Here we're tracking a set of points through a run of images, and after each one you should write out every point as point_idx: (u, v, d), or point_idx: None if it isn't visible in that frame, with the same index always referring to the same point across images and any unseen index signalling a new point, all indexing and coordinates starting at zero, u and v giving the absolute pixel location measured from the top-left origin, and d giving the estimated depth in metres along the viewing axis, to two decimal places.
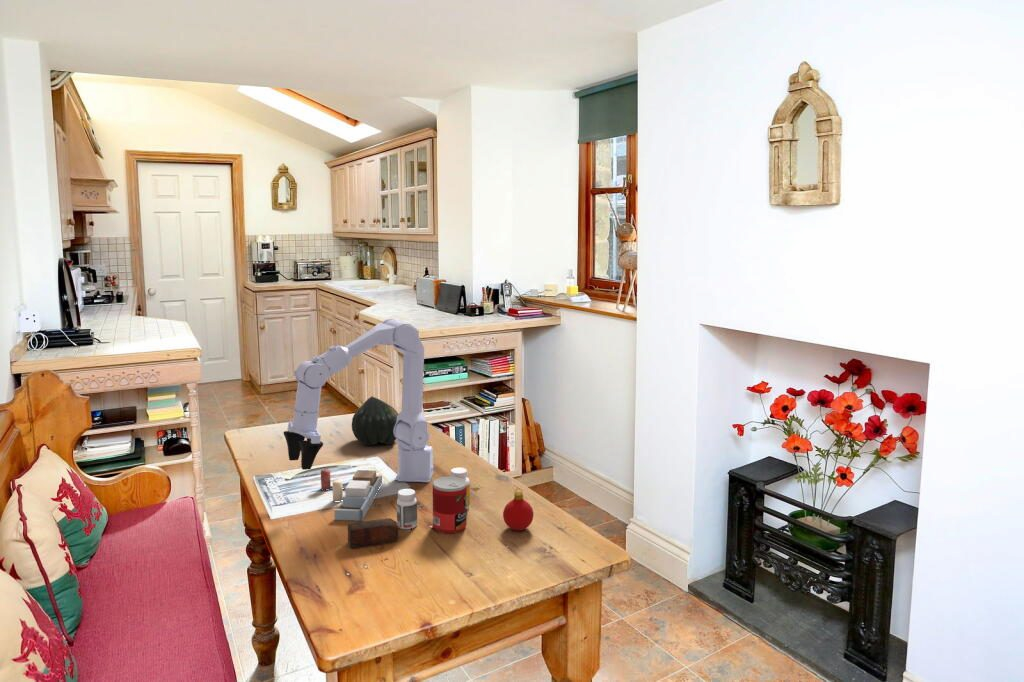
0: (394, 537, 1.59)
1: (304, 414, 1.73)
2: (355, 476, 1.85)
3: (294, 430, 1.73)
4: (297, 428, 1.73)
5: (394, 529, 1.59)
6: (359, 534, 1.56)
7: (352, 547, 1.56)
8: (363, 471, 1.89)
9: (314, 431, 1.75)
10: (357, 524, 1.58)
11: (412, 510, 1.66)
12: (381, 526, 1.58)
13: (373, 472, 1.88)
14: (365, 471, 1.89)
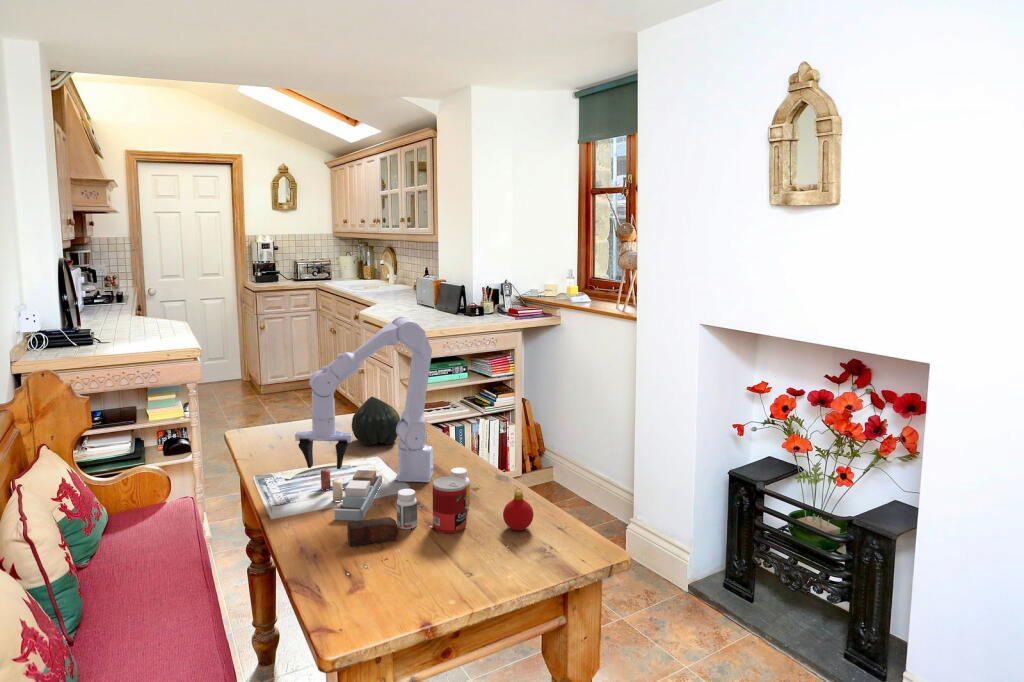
0: (393, 536, 1.60)
1: (330, 420, 1.83)
2: (355, 476, 1.85)
3: (325, 438, 1.83)
4: (326, 435, 1.83)
5: (393, 528, 1.60)
6: (358, 532, 1.57)
7: (351, 545, 1.57)
8: (363, 471, 1.89)
9: (335, 432, 1.87)
10: (357, 523, 1.59)
11: (412, 510, 1.66)
12: (380, 525, 1.58)
13: (373, 472, 1.88)
14: (365, 471, 1.89)
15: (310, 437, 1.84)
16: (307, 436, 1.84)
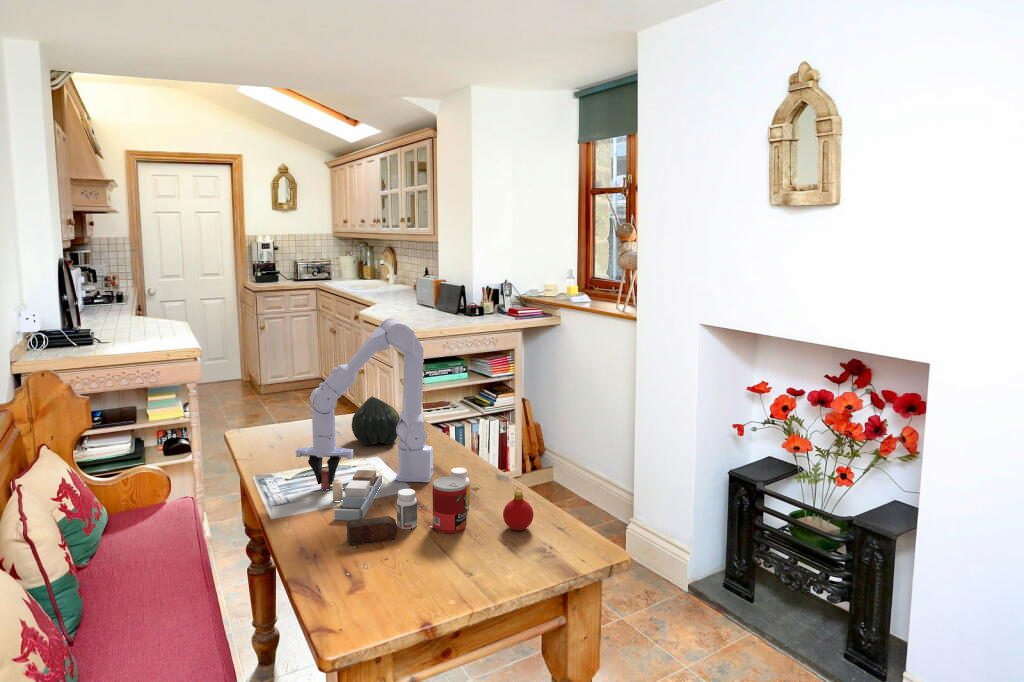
0: (393, 534, 1.61)
1: (331, 436, 1.84)
2: (355, 476, 1.85)
3: (325, 454, 1.83)
4: (327, 452, 1.84)
5: (392, 527, 1.60)
6: (358, 531, 1.57)
7: (351, 544, 1.58)
8: (363, 471, 1.89)
9: (336, 448, 1.88)
10: (356, 521, 1.59)
11: (412, 510, 1.66)
12: (380, 523, 1.59)
13: (373, 472, 1.88)
14: (365, 471, 1.89)
15: (311, 453, 1.84)
16: (308, 452, 1.85)
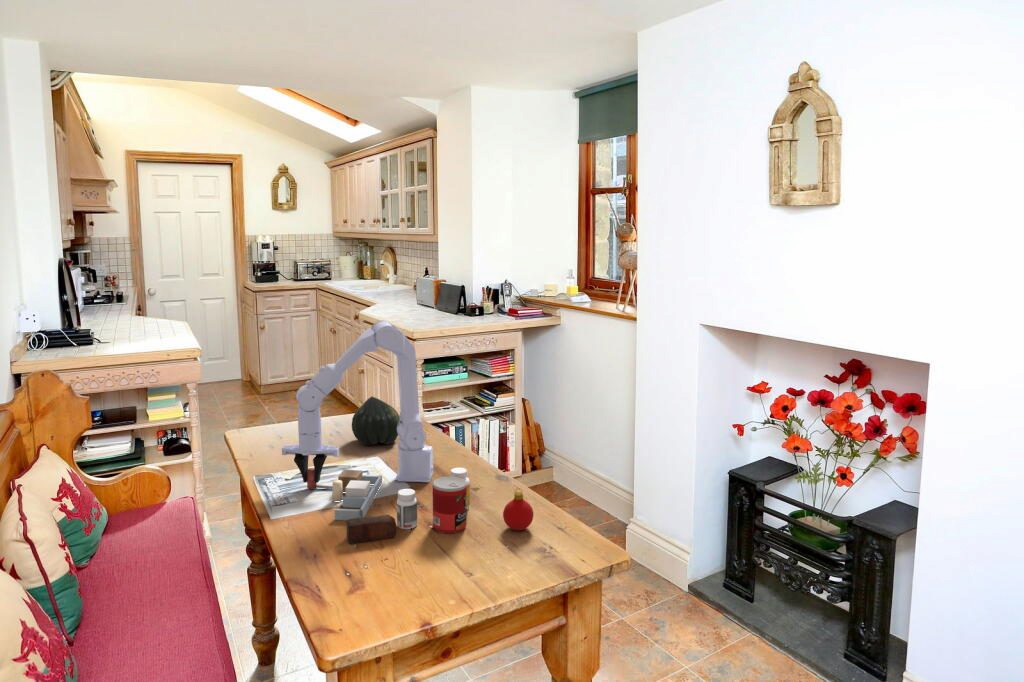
0: (392, 533, 1.61)
1: (317, 434, 1.84)
2: (341, 475, 1.85)
3: (311, 452, 1.83)
4: (312, 450, 1.84)
5: (392, 526, 1.61)
6: (357, 529, 1.58)
7: (350, 543, 1.58)
8: (349, 471, 1.89)
9: None
10: (356, 520, 1.60)
11: (412, 510, 1.66)
12: (379, 522, 1.60)
13: (359, 472, 1.88)
14: (351, 471, 1.89)
15: (296, 451, 1.84)
16: (293, 450, 1.85)
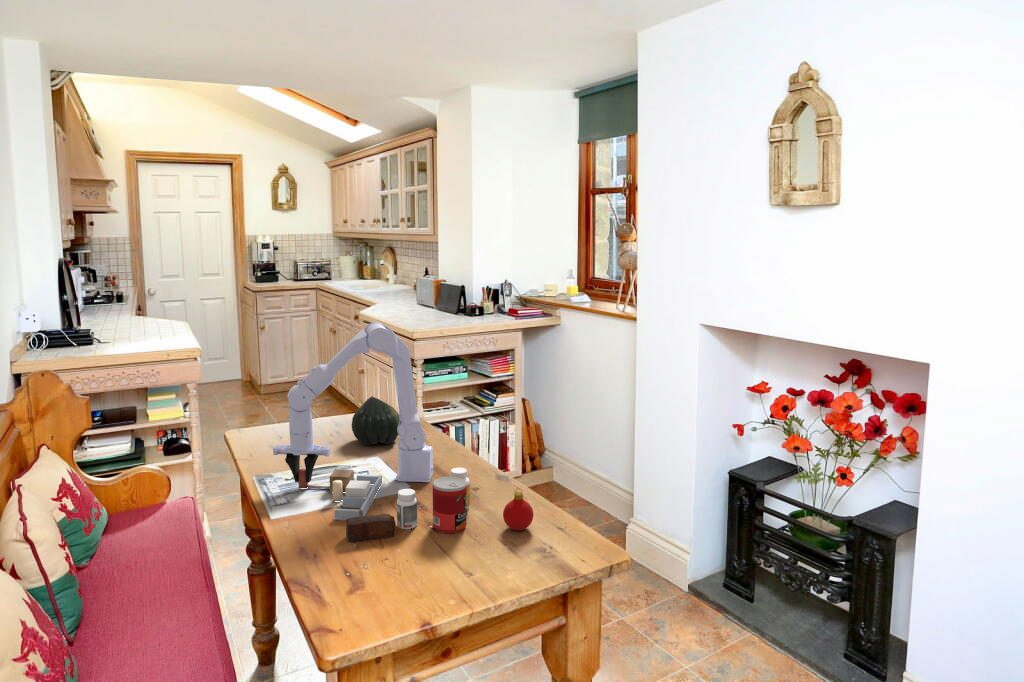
0: (391, 532, 1.62)
1: (308, 434, 1.84)
2: (332, 475, 1.86)
3: (302, 452, 1.84)
4: (303, 450, 1.84)
5: (391, 525, 1.61)
6: (356, 528, 1.59)
7: (350, 541, 1.59)
8: (340, 470, 1.89)
9: (313, 446, 1.88)
10: (355, 519, 1.61)
11: (412, 510, 1.66)
12: (378, 521, 1.60)
13: (350, 471, 1.88)
14: (342, 470, 1.89)
15: (288, 451, 1.84)
16: (285, 450, 1.85)
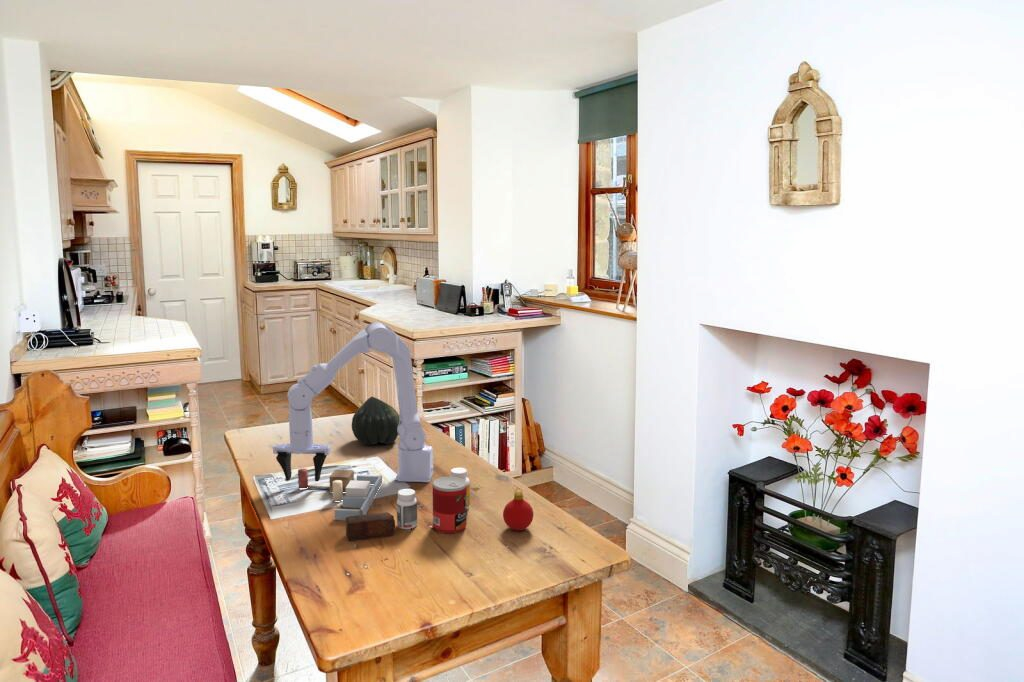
0: (391, 531, 1.62)
1: (308, 433, 1.84)
2: (332, 475, 1.86)
3: (302, 451, 1.84)
4: (303, 448, 1.84)
5: (390, 523, 1.62)
6: (356, 527, 1.59)
7: (349, 540, 1.60)
8: (340, 471, 1.89)
9: (313, 445, 1.88)
10: (355, 517, 1.61)
11: (412, 510, 1.66)
12: (378, 519, 1.61)
13: (350, 472, 1.88)
14: (342, 471, 1.89)
15: (288, 450, 1.84)
16: (285, 449, 1.85)
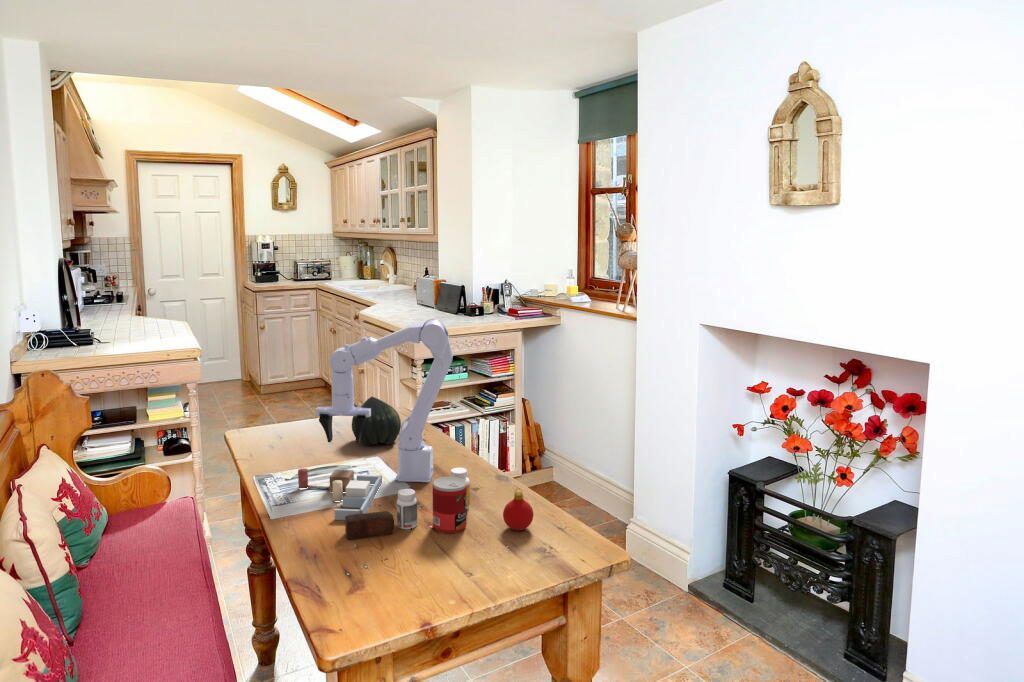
0: (390, 529, 1.63)
1: (349, 395, 1.90)
2: (332, 475, 1.86)
3: (344, 412, 1.90)
4: (345, 410, 1.90)
5: (390, 522, 1.63)
6: (355, 525, 1.60)
7: (349, 538, 1.60)
8: (340, 471, 1.89)
9: (354, 408, 1.94)
10: (354, 516, 1.62)
11: (412, 510, 1.66)
12: (377, 518, 1.62)
13: (350, 472, 1.88)
14: (342, 471, 1.89)
15: (330, 412, 1.91)
16: (327, 411, 1.91)
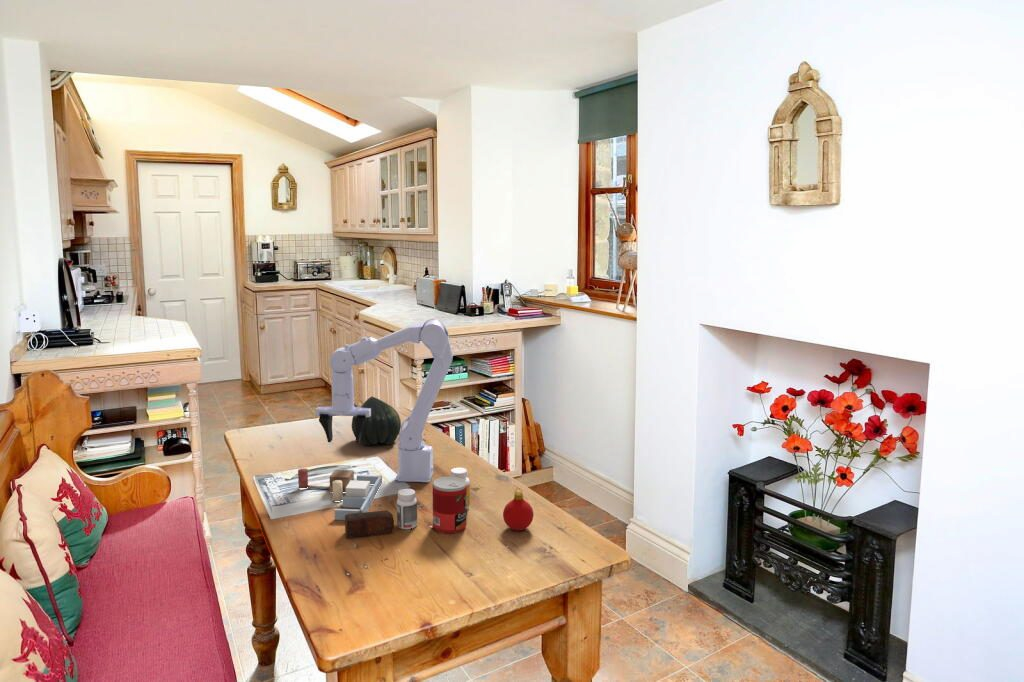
0: (390, 528, 1.63)
1: (349, 395, 1.90)
2: (332, 475, 1.86)
3: (344, 412, 1.90)
4: (345, 410, 1.90)
5: (389, 521, 1.63)
6: (355, 524, 1.60)
7: (349, 537, 1.61)
8: (340, 471, 1.89)
9: (354, 408, 1.94)
10: (354, 515, 1.62)
11: (412, 510, 1.66)
12: (377, 517, 1.62)
13: (350, 472, 1.88)
14: (342, 471, 1.89)
15: (330, 412, 1.91)
16: (327, 411, 1.91)
